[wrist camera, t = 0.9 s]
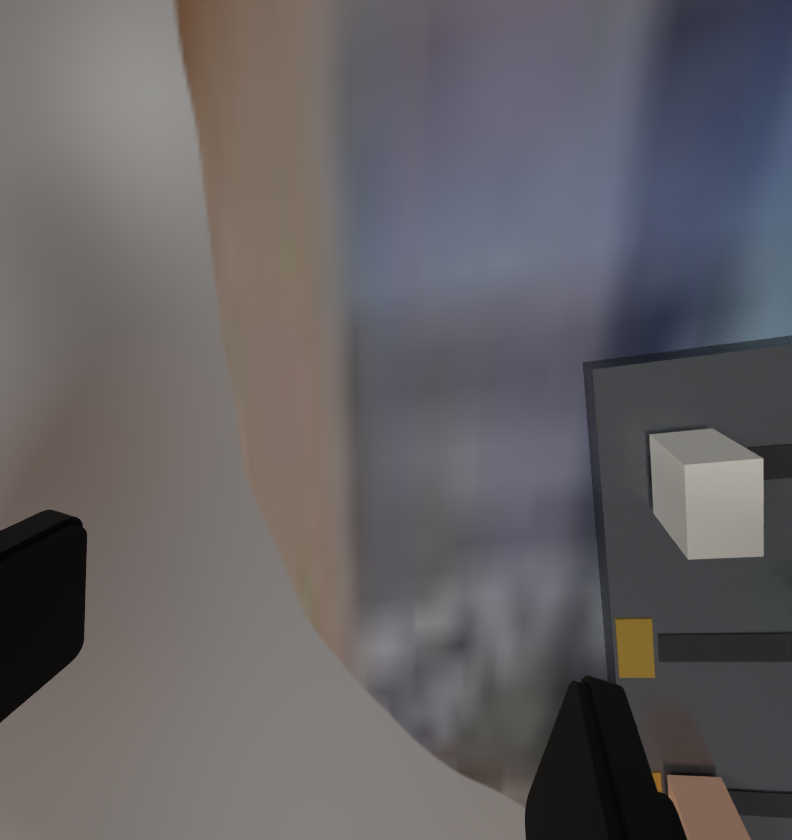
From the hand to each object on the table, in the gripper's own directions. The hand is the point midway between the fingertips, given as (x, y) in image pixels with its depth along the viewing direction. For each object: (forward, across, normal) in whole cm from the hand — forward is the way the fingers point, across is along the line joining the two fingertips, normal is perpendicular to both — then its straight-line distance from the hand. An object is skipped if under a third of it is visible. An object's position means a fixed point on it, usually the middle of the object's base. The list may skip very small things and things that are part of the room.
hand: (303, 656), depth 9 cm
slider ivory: (+20, -14, 0) cm, 24 cm away
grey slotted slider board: (+23, -21, +9) cm, 33 cm away
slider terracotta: (+20, -21, +20) cm, 36 cm away
